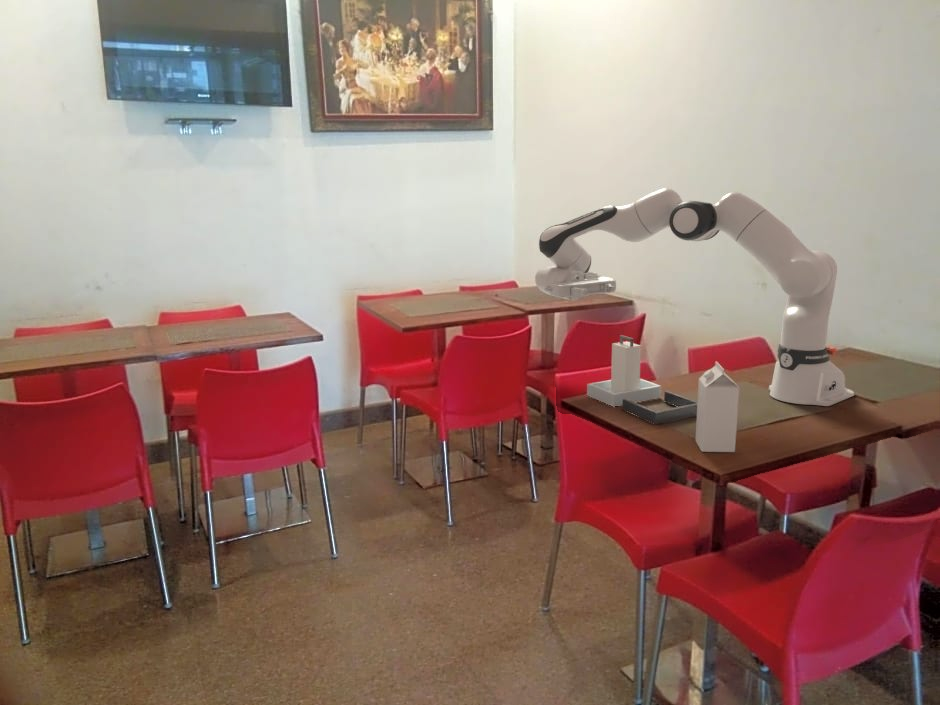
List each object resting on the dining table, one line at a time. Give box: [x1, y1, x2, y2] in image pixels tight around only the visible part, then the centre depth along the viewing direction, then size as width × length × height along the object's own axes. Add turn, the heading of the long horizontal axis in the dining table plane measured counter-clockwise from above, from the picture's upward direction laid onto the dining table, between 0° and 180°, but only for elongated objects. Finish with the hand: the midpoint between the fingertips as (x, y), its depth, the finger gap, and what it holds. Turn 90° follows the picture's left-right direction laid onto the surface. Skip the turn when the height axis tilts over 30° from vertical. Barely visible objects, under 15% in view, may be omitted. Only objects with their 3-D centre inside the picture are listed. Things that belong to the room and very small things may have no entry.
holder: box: [621, 390, 698, 425], centre depth 185 cm, size 15×13×3 cm
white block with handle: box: [610, 334, 642, 393], centre depth 196 cm, size 5×6×16 cm
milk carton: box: [695, 360, 740, 453], centre depth 159 cm, size 7×7×19 cm
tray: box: [586, 377, 662, 408], centre depth 198 cm, size 16×12×4 cm
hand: (599, 291), depth 203 cm, fingers open, 8 cm apart
